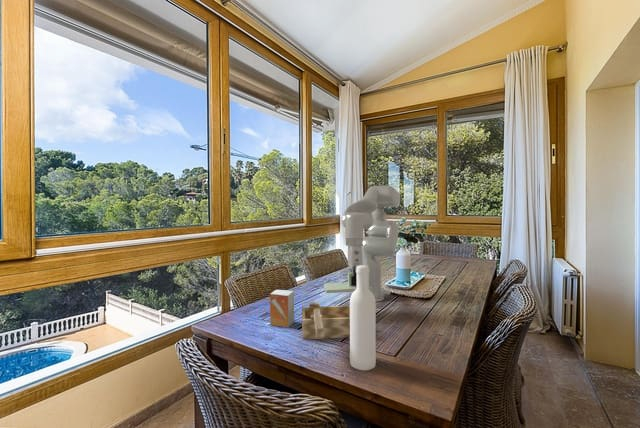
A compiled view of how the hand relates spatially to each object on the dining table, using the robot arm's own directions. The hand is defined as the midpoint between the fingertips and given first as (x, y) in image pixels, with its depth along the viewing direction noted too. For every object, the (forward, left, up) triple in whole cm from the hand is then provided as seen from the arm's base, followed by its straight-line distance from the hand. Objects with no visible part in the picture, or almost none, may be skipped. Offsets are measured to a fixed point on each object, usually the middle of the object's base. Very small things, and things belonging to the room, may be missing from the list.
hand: (354, 283), depth 127 cm
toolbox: (+13, +14, -14) cm, 23 cm away
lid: (+3, 0, -2) cm, 3 cm away
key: (+18, +30, -5) cm, 35 cm away
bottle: (+5, +38, -14) cm, 41 cm away
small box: (+31, +6, -14) cm, 34 cm away
